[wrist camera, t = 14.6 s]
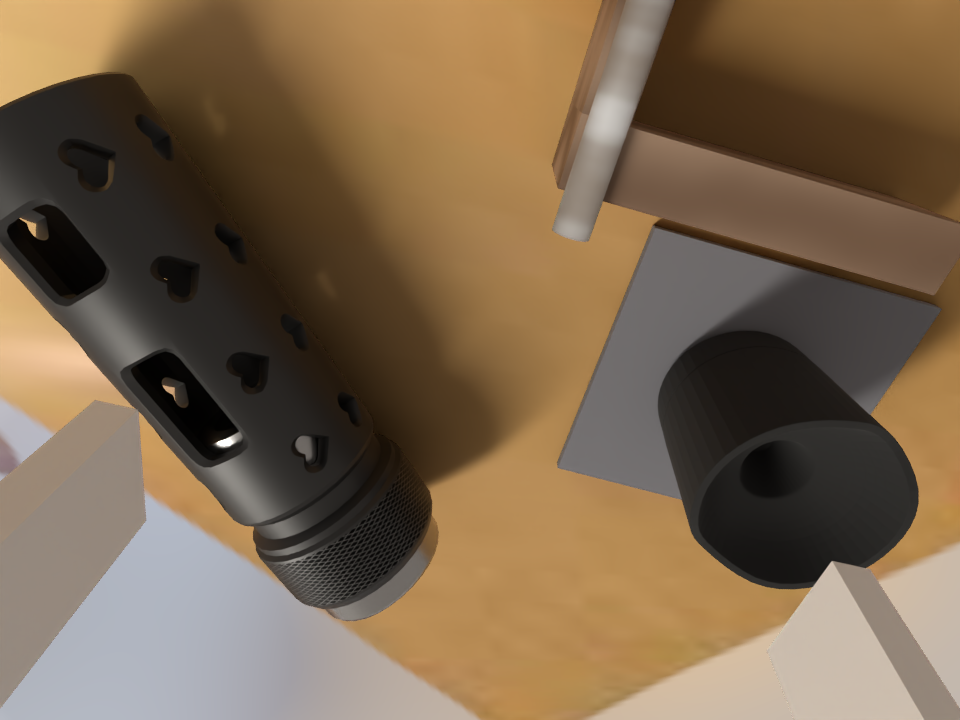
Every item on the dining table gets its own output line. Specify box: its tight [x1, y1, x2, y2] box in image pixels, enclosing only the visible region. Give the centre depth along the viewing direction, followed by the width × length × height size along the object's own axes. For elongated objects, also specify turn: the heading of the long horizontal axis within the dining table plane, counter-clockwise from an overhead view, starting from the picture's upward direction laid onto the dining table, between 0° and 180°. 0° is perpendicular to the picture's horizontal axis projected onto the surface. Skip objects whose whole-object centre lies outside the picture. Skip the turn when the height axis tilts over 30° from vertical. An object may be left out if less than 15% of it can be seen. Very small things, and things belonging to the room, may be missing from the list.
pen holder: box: [658, 331, 918, 589], centre depth 30 cm, size 9×9×10 cm
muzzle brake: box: [0, 72, 439, 621], centre depth 31 cm, size 10×28×10 cm, turn 28°
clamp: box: [552, 0, 960, 295], centre depth 23 cm, size 20×17×8 cm
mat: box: [557, 225, 942, 500], centre depth 35 cm, size 16×16×1 cm
